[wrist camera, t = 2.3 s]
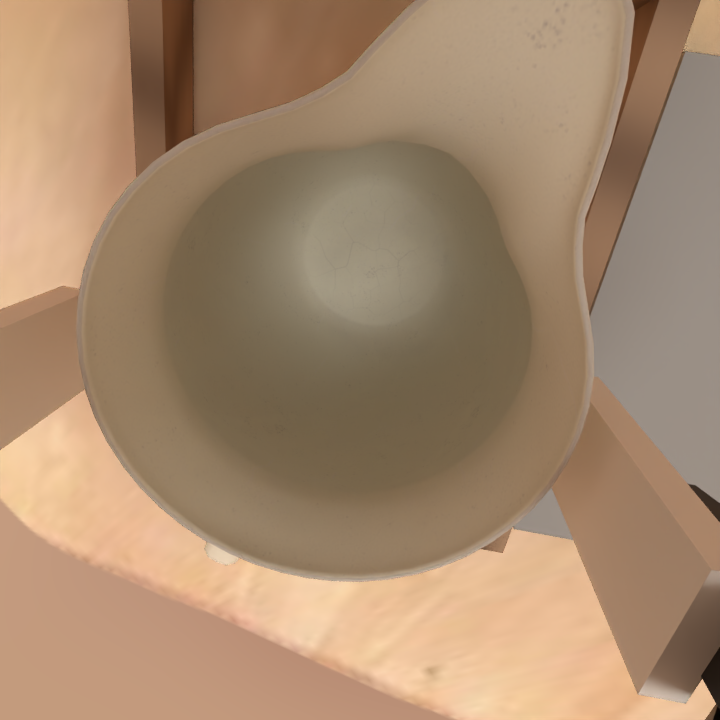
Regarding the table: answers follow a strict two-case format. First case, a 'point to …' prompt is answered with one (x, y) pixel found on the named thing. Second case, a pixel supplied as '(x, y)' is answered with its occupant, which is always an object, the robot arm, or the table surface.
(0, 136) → the table surface
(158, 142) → the frame
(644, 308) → the slate board
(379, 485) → the pitcher
